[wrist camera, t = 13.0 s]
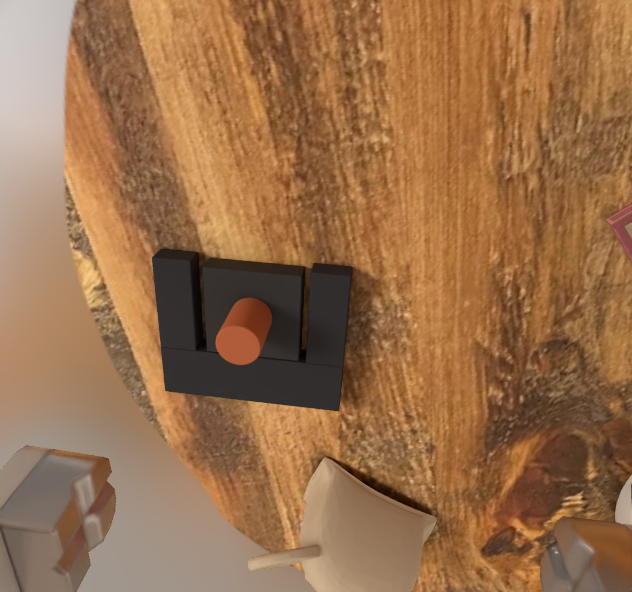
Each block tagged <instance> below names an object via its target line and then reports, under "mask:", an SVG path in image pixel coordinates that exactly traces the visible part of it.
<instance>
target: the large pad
mask: <svg viewBox="0 0 632 592" xmlns="http://www.w3.org/2000/svg"><path fill="white" fill-rule="evenodd" d="M152 263H153V273H154V283H155V293H156V302H157V312H158V322H159V332H160V341H161V353H162V363H163V373H164V383H165V391H169V392H177V393H186V394H195V395H203V396H212V397H220V398H229V399H238V400H246V401H255V402H264V403H272V404H281V405H289V406H298V407H307V408H315V409H324V410H333V411H339V405H340V396H341V386H342V375H343V364H344V354H345V343H346V332H347V322H348V311H349V300H350V290H351V279H352V267H350V266H339V265H329V264H318V263H314V264H313V267H312V270H311V274H310V293H309V312H308V331H307V350H306V351H305V350H301V352H300V356H299V360H298V361H295V360H286V359H277V358H267V357H258V358H257V359H256V360H255V361H253V362H252V363H249V364H246V365H237V364H233V363H230V362H228V361H226V360H225V359H224V358H223V357H222V356H221V355H220V354H219V352H212V351H207V340H202V339H203V334H202V316H201V299H200V281H199V264H198V252H190V251H180V250H169V249H160V250H159V251H158V252H157V253H156V254H155V255H154V256H153V257H152Z"/></svg>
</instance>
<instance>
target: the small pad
mask: <svg viewBox="0 0 632 592" xmlns="http://www.w3.org/2000/svg"><path fill="white" fill-rule="evenodd" d="M304 280H305V267H304V266H293V265H282V264H272V263H261V262H250V261H240V260H229V259H218V258H209V260H208V261H207V262H206V263H205V265H204V266H203V285H204V303H205V321H206V339H207V351H212V352H219V354H220V355H221V356H222V357H223V358H224V359H225V360H226V361H228V362H230V363H233V364H237V365H246V364H249V363H252V362H253V361H255V360H256V359H257V358H258V357H267V358H277V359H286V360H295V361H298V360H299V356H300V352H301V347H302V324H303V302H304Z"/></svg>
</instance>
